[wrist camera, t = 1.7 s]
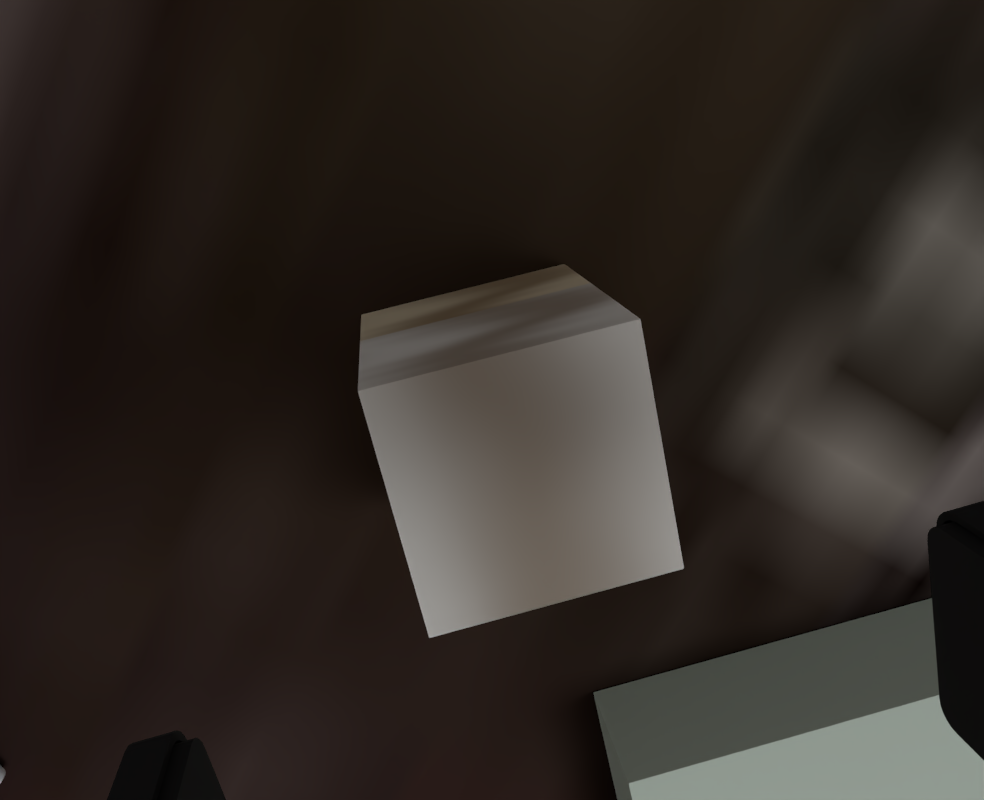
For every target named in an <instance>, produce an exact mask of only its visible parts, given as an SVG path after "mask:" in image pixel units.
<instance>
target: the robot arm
mask: <svg viewBox="0 0 984 800" xmlns="http://www.w3.org/2000/svg"><path fill="white" fill-rule="evenodd" d="M928 553H929V566H930V580H931V593H932V606H933V620H934V633H935V647H936V660H937V673H938V687H939V699H940V705H941V708H942V711H943V714H944V716H945V718H946V720H947V721H948V723H949V725H950V726H951V727H952V729H953V730H954V731H955V732H956V733H957V734H958V735H959V736H960V737H961V738H962V739H963V740H964V741H965V742H966V743H967V744H968V745H969V746H970V747H971V748H972V749H973V750H974V751H975V752H976V753H977V754H978V755H979V756H980V757H981V758H982V759H983V760H984V501H982V502H978V503H975V504H971V505H968V506H964V507H961V508H957V509H954V510H950V511H947V512H943V513H942V514H941V515H940V516H939V517H938V520H937V527H933V528H932V529H930V530H929V533H928ZM107 800H226V799H225V797H224V794H223V792H222V789H221V787H220V784H219V782H218V779H217V777H216V774H215V772H214V769H213V767H212V764H211V762H210V759H209V757H208V754H207V752H206V750H205V747H204V745H203V743H202V742H201V741H200V739H198V738H194V739H191V740H187V739H186V738H185V736H184V735H183V734H182V733H181V732H180V731H173V732H170V733H166V734H163V735H159V736H156V737H152V738H149V739H145V740H142V741H138V742H135V743H132V744H130V745H129V746H128V747H127V749H126V751H125V753H124V756H123V758H122V761H121V764H120V766H119V769H118V772H117V774H116V777H115V780H114V783H113V785H112V788H111V791H110V793H109V796H108V799H107Z"/></svg>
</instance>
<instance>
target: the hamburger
mask: <svg viewBox="0 0 984 800" xmlns="http://www.w3.org/2000/svg"><path fill="white" fill-rule="evenodd" d="M5 774H6V771H5V769H4V768H3V767H2V766H1V765H0V783H1V782H2V780H3V779H4V776H5Z"/></svg>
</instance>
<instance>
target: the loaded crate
mask: <svg viewBox="0 0 984 800" xmlns="http://www.w3.org/2000/svg"><path fill="white" fill-rule="evenodd" d="M358 394H359V397H360V401H361V404H362V408H363V411H364V414H365V418H366V421H367V425H368V428H369V432H370V435H371V439H372V442H373V446H374V449H375V452H376V456H377V459H378V463H379V466H380V470H381V473H382V477H383V480H384V483H385V487H386V490H387V494H388V497H389V501H390V504H391V508H392V511H393V515H394V518H395V521H396V525H397V528H398V532H399V535H400V539H401V542H402V546H403V549H404V552H405V556H406V559H407V563H408V566H409V570H410V573H411V577H412V580H413V584H414V587H415V590H416V594H417V597H418V601H419V604H420V608H421V611H422V615H423V618H424V621H425V625H426V628H427V632H428V635H429V638H431V637H435V636H438V635H442V634H446V633H449V632H453V631H457V630H460V629H464V628H468V627H471V626H475V625H479V624H482V623H486V622H490V621H493V620H497V619H501V618H504V617H508V616H512V615H516V614H519V613H523V612H527V611H530V610H534V609H538V608H541V607H545V606H549V605H552V604H556V603H560V602H563V601H567V600H571V599H574V598H578V597H582V596H585V595H589V594H593V593H596V592H600V591H604V590H607V589H611V588H615V587H618V586H622V585H626V584H629V583H633V582H637V581H640V580H644V579H648V578H651V577H655V576H659V575H662V574H666V573H670V572H673V571H677V570H681V569H684V566H683V560H682V554H681V548H680V543H679V537H678V531H677V525H676V520H675V514H674V508H673V503H672V497H671V491H670V485H669V480H668V474H667V468H666V463H665V457H664V451H663V445H662V440H661V434H660V428H659V422H658V417H657V411H656V405H655V400H654V394H653V388H652V382H651V377H650V371H649V365H648V360H647V354H646V348H645V342H644V337H643V331H642V325H641V319H640V318H638V317H637V316H636V315H634V314H633V313H631V312H630V311H629V310H627V309H626V308H625V307H623V306H622V305H620V304H619V303H618V302H616V301H615V300H613V299H612V298H611V297H609V296H608V295H607V294H605V293H604V292H602V291H601V290H600V289H598V288H597V287H595V286H594V285H593V284H591V283H590V282H589V281H587V280H586V279H584V278H583V277H582V276H580V275H579V274H577V273H576V272H575V271H573V270H572V269H570V268H569V267H568V266H566V265H565V264H562V265H558V266H554V267H550V268H546V269H542V270H538V271H534V272H530V273H526V274H522V275H518V276H514V277H510V278H506V279H502V280H498V281H494V282H490V283H486V284H482V285H478V286H474V287H470V288H466V289H462V290H458V291H454V292H450V293H446V294H442V295H438V296H434V297H430V298H426V299H422V300H418V301H414V302H410V303H406V304H402V305H398V306H394V307H390V308H386V309H382V310H378V311H374V312H370V313H366V314H362V315H361V332H360V353H359V375H358Z"/></svg>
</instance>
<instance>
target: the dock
mask: <svg viewBox="0 0 984 800" xmlns="http://www.w3.org/2000/svg"><path fill="white" fill-rule="evenodd" d="M593 694H594V699H595V703H596V707H597V712H598V716H599V721H600V725H601V730H602V734H603V739H604V743H605V747H606V752H607V756H608V761H609V765H610V770H611V774H612V779H613V783H614V787H615V792H616V796H617V800H984V760H983V759H982V758H981V757H980V756H979V755H978V754H977V753H976V752H975V751H974V750H973V749H972V748H971V747H970V746H969V745H968V744H967V743H966V742H965V741H964V740H963V739H962V738H961V737H960V736H959V735H958V734H957V733H956V732H955V731H954V730H953V729H952V727H951V726H950V725H949V723H948V721H947V720H946V718H945V716H944V714H943V711H942V708H941V705H940V699H939V687H938V673H937V660H936V647H935V633H934V620H933V606H932V598H930V599H927V600H923V601H920V602H916V603H912V604H909V605H905V606H902V607H898V608H894V609H891V610H887V611H884V612H880V613H876V614H873V615H869V616H866V617H862V618H859V619H855V620H851V621H848V622H844V623H841V624H837V625H833V626H830V627H826V628H823V629H819V630H815V631H812V632H808V633H805V634H801V635H797V636H794V637H790V638H787V639H783V640H780V641H776V642H772V643H769V644H765V645H762V646H758V647H754V648H751V649H747V650H744V651H740V652H736V653H733V654H729V655H726V656H722V657H718V658H715V659H711V660H708V661H704V662H700V663H697V664H693V665H690V666H686V667H683V668H679V669H675V670H672V671H668V672H665V673H661V674H657V675H654V676H650V677H647V678H643V679H639V680H636V681H632V682H629V683H625V684H621V685H618V686H614V687H611V688H607V689H603V690H600V691H596V692H593Z"/></svg>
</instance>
